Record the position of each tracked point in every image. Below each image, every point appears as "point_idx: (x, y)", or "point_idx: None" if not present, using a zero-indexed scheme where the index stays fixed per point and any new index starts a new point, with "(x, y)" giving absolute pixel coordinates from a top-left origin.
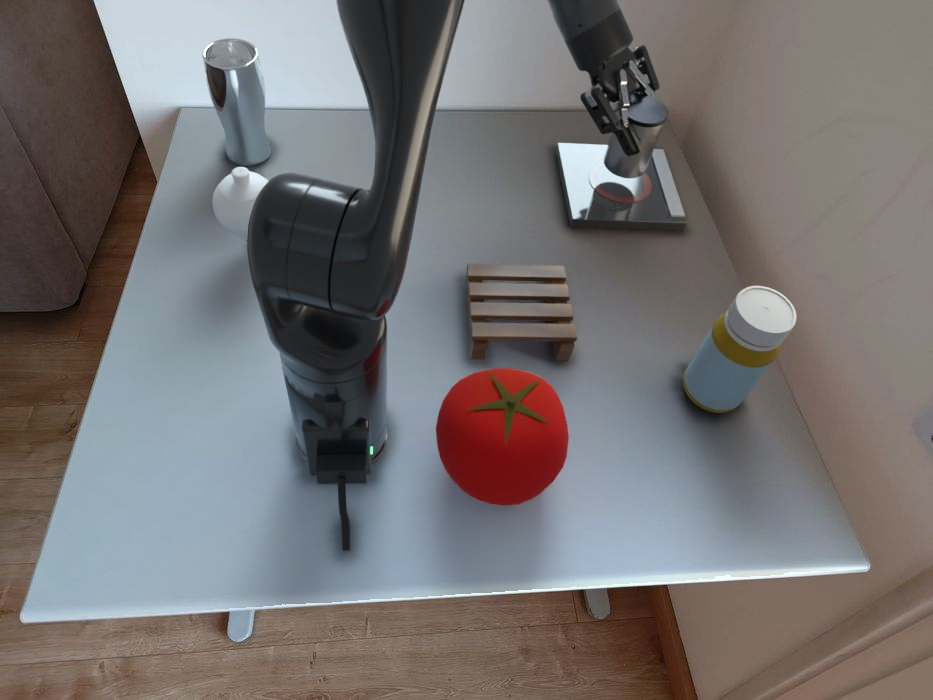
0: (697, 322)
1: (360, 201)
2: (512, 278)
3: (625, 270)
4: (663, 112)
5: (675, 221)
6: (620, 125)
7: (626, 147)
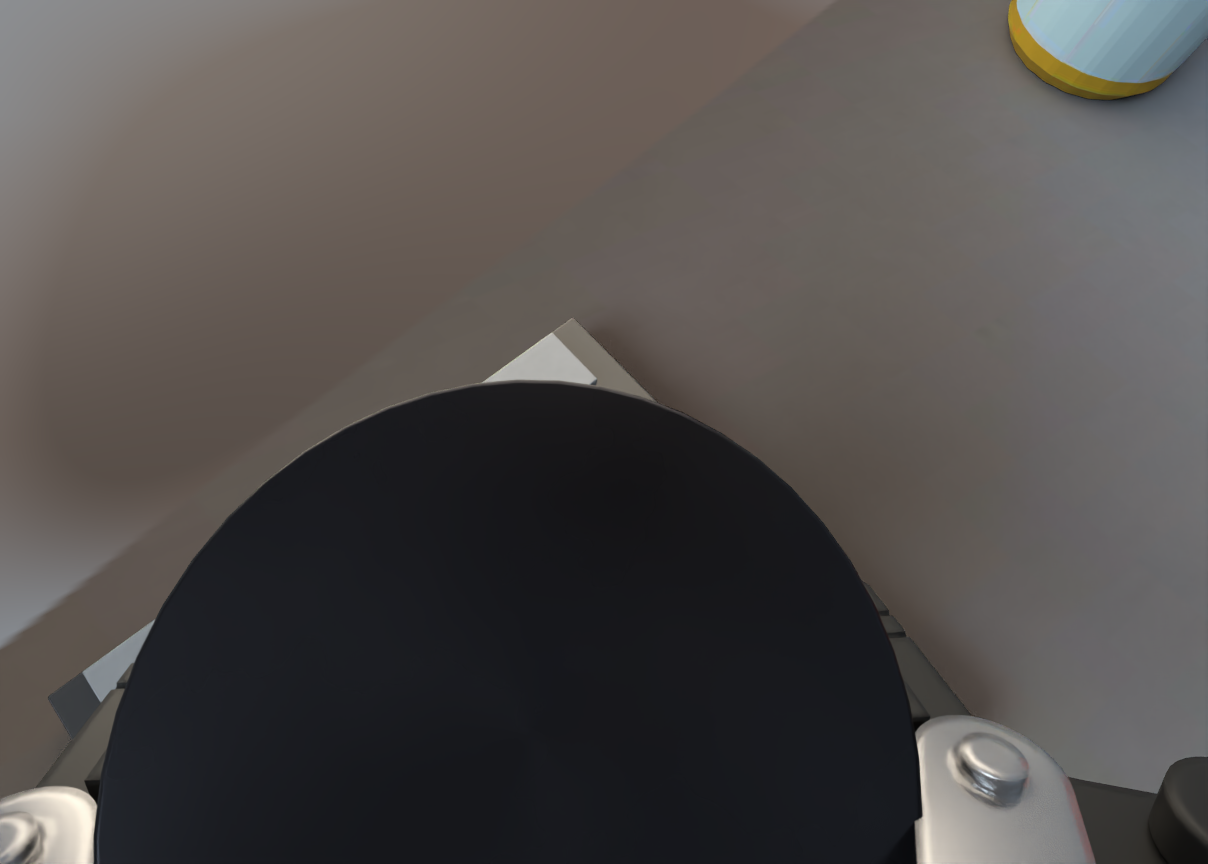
0: (920, 145)
1: None
2: None
3: (949, 413)
4: (410, 458)
5: (604, 356)
6: (1175, 786)
7: None
